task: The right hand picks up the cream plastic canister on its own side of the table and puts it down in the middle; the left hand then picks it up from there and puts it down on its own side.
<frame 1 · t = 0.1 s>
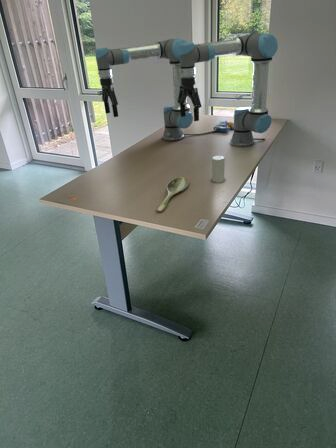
left hand: (111, 114, 206), 28 cm above the table, tool pointing down, fingers open, 13 cm apart
right hand: (189, 118, 183), 28 cm above the table, tool pointing down, fingers open, 13 cm apart
spray gun: (225, 129, 257), on the table
canister: (218, 180, 178), on the table
spoon: (172, 195, 167), on the table
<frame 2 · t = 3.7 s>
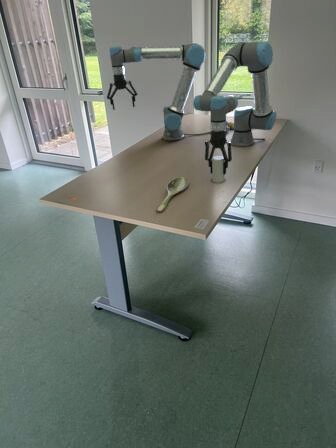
left hand: (123, 108, 224), 27 cm above the table, tool pointing down, fingers open, 13 cm apart
right hand: (218, 173, 176), 4 cm above the table, tool pointing down, fingers closed on canister, 6 cm apart
canister: (218, 180, 178), on the table, touching right hand
everything else where it was.
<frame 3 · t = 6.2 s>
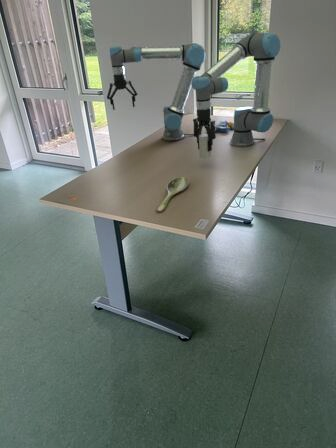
left hand: (123, 108, 224), 27 cm above the table, tool pointing down, fingers open, 13 cm apart
right hand: (204, 149, 191), 10 cm above the table, tool pointing down, fingers closed on canister, 6 cm apart
canister: (205, 156, 193), point 6 cm above the table, touching right hand
everything else where it was.
when the right hand's fingers open (5 cm above the table, at t = 8.7 s): canister drops 1 cm, on the table.
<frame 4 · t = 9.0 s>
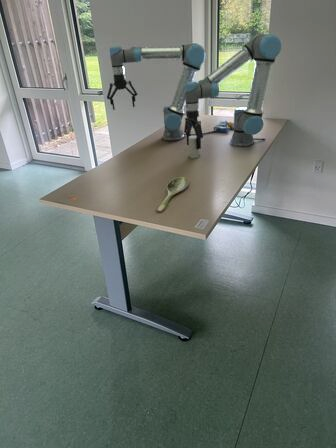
left hand: (123, 108, 224), 27 cm above the table, tool pointing down, fingers open, 13 cm apart
right hand: (193, 146, 209), 6 cm above the table, tool pointing down, fingers open, 10 cm apart
canister: (194, 156, 212), on the table
everything else where it was.
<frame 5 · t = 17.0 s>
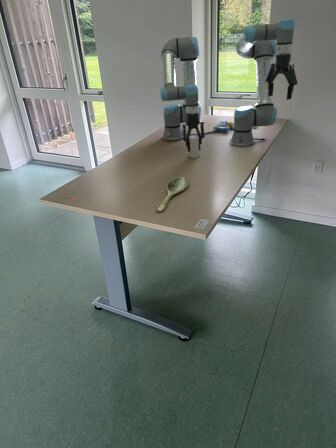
left hand: (194, 150, 210), 4 cm above the table, tool pointing down, fingers closed on canister, 6 cm apart
right hand: (279, 97, 181), 35 cm above the table, tool pointing down, fingers open, 13 cm apart
canister: (194, 156, 212), on the table, touching left hand
everything else where it was.
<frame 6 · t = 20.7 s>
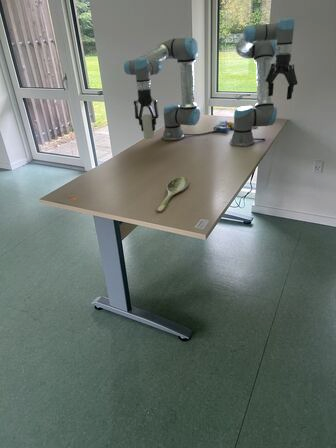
left hand: (148, 130, 198), 20 cm above the table, tool pointing down, fingers closed on canister, 6 cm apart
right hand: (279, 97, 181), 35 cm above the table, tool pointing down, fingers open, 13 cm apart
canister: (149, 137, 200), point 16 cm above the table, touching left hand
everything else where it was.
when the left hand's fingers open (5 cm above the table, at t = 24.8 s): canister drops 1 cm, on the table.
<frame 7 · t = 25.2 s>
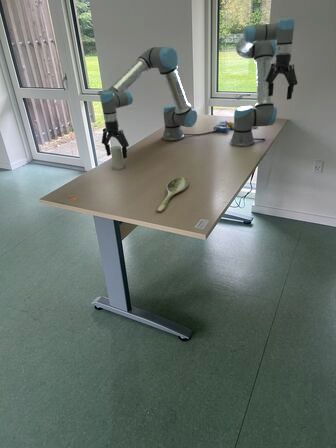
left hand: (117, 156, 202), 7 cm above the table, tool pointing down, fingers open, 12 cm apart
right hand: (279, 97, 181), 35 cm above the table, tool pointing down, fingers open, 13 cm apart
canister: (118, 167, 206), on the table
everything else where it was.
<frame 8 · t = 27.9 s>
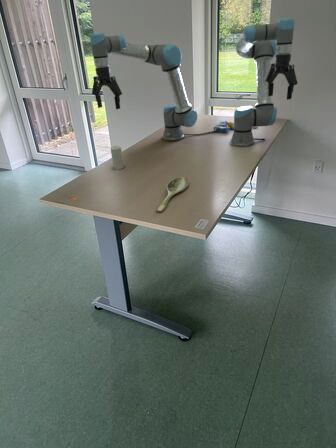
left hand: (109, 108, 187), 35 cm above the table, tool pointing down, fingers open, 13 cm apart
right hand: (279, 97, 181), 35 cm above the table, tool pointing down, fingers open, 13 cm apart
nothing on the table moved.
at the end: canister inside the target area (0.0 cm from its centre), on the table; canister tilted 0°; the two hands never held the canister at the same time; the left hand is holding nothing; the right hand is holding nothing; canister at rest at the end (0.0 cm/s) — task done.
